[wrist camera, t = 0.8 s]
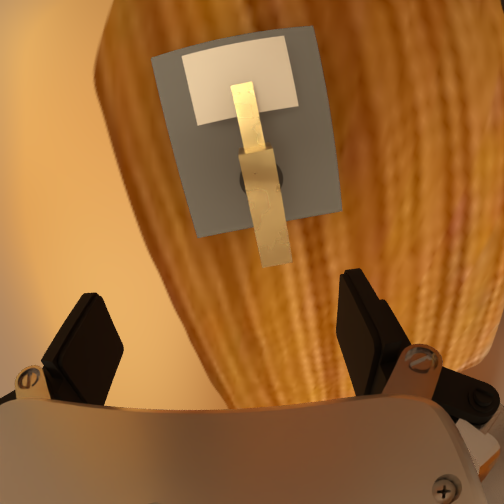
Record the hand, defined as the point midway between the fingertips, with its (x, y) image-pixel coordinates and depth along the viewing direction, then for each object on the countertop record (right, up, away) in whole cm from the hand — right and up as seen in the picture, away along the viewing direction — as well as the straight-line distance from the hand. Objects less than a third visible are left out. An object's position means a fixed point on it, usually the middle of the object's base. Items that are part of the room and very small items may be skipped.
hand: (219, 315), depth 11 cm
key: (+2, +12, +18) cm, 21 cm away
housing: (+1, +15, +19) cm, 24 cm away
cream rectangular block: (0, +18, +15) cm, 24 cm away
